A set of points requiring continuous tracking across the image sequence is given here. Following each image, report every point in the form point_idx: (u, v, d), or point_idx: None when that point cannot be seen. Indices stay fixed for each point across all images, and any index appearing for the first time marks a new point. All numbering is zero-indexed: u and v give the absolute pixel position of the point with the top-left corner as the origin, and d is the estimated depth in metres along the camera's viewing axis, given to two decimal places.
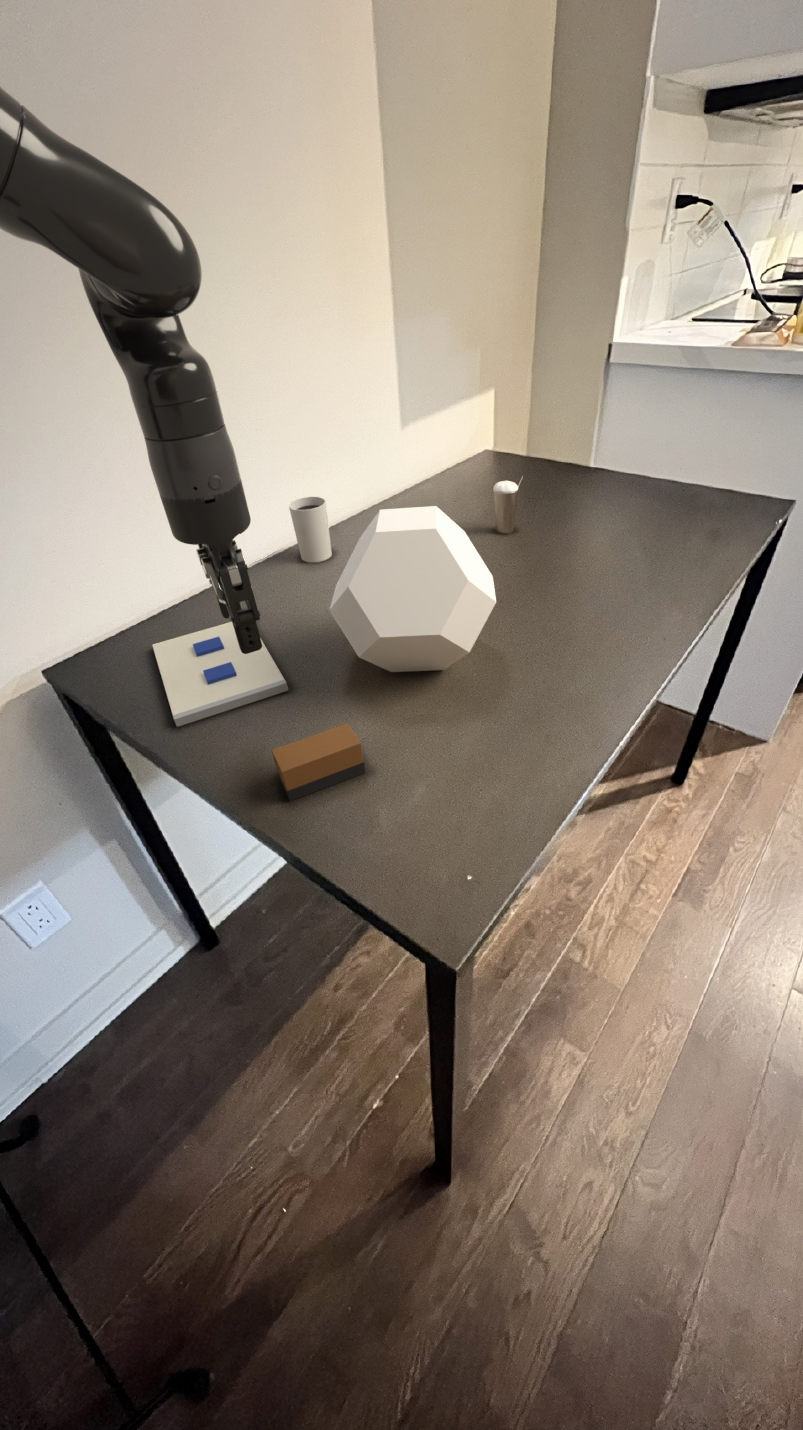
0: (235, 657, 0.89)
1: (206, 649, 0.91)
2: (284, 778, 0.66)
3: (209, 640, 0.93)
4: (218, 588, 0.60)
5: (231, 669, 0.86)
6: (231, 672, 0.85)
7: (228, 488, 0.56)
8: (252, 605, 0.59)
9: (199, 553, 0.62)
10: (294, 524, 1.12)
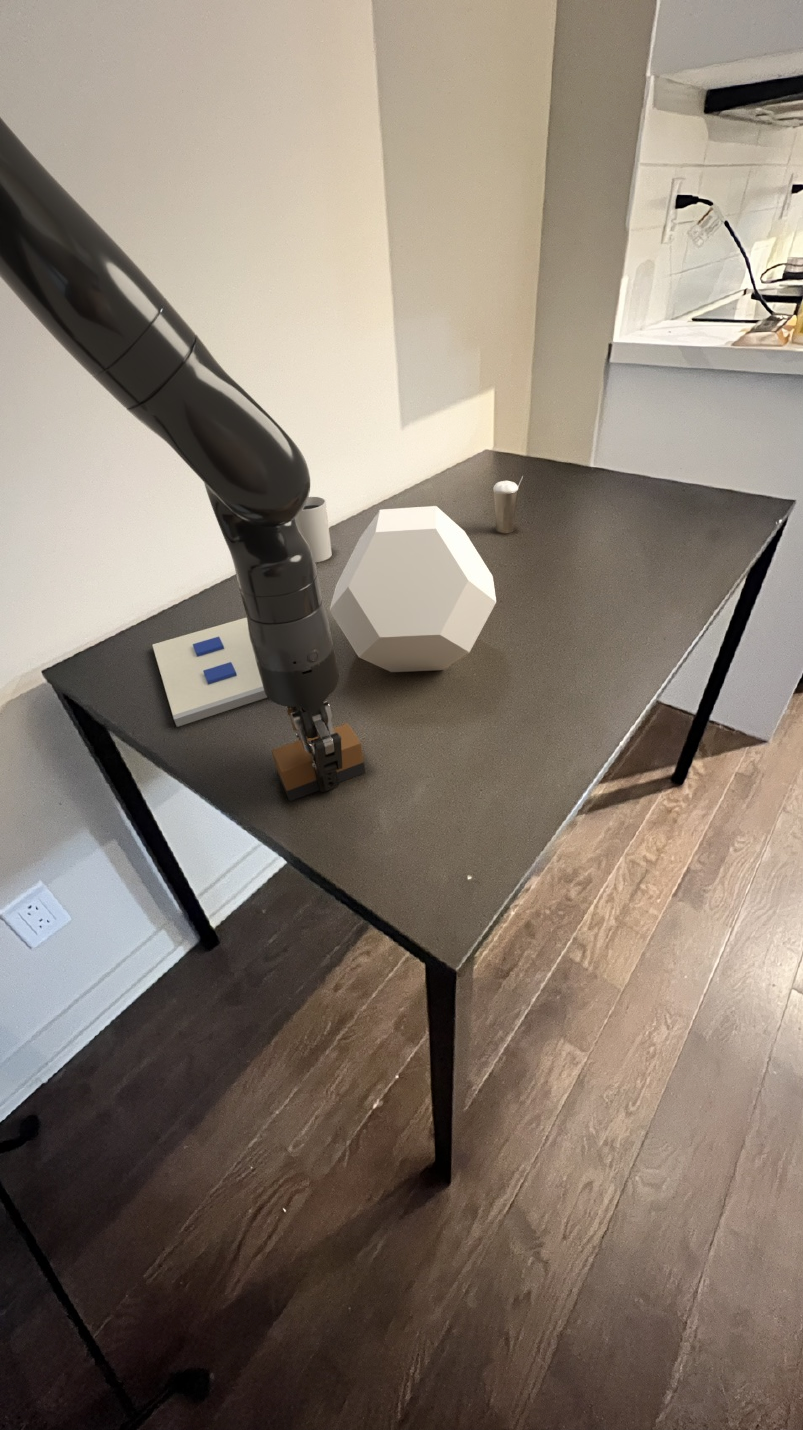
0: (235, 657, 0.89)
1: (206, 649, 0.91)
2: (284, 778, 0.66)
3: (209, 640, 0.93)
4: (306, 742, 0.63)
5: (231, 669, 0.86)
6: (231, 672, 0.85)
7: (324, 658, 0.58)
8: (338, 762, 0.63)
9: None
10: None
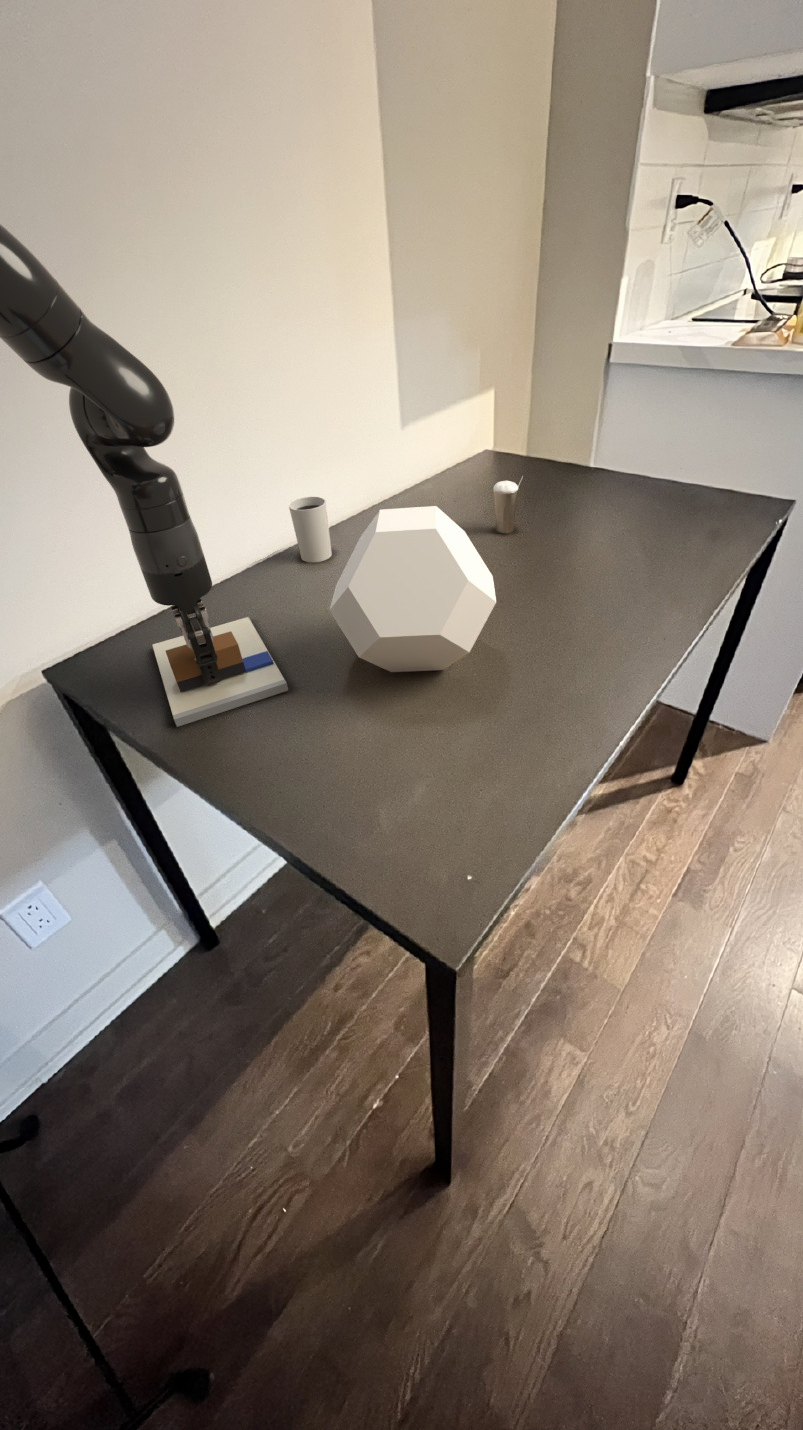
0: None
1: None
2: (173, 670, 0.81)
3: None
4: (187, 639, 0.79)
5: (268, 658, 0.87)
6: (268, 660, 0.87)
7: (192, 564, 0.73)
8: (212, 654, 0.78)
9: (172, 607, 0.79)
10: (294, 524, 1.12)
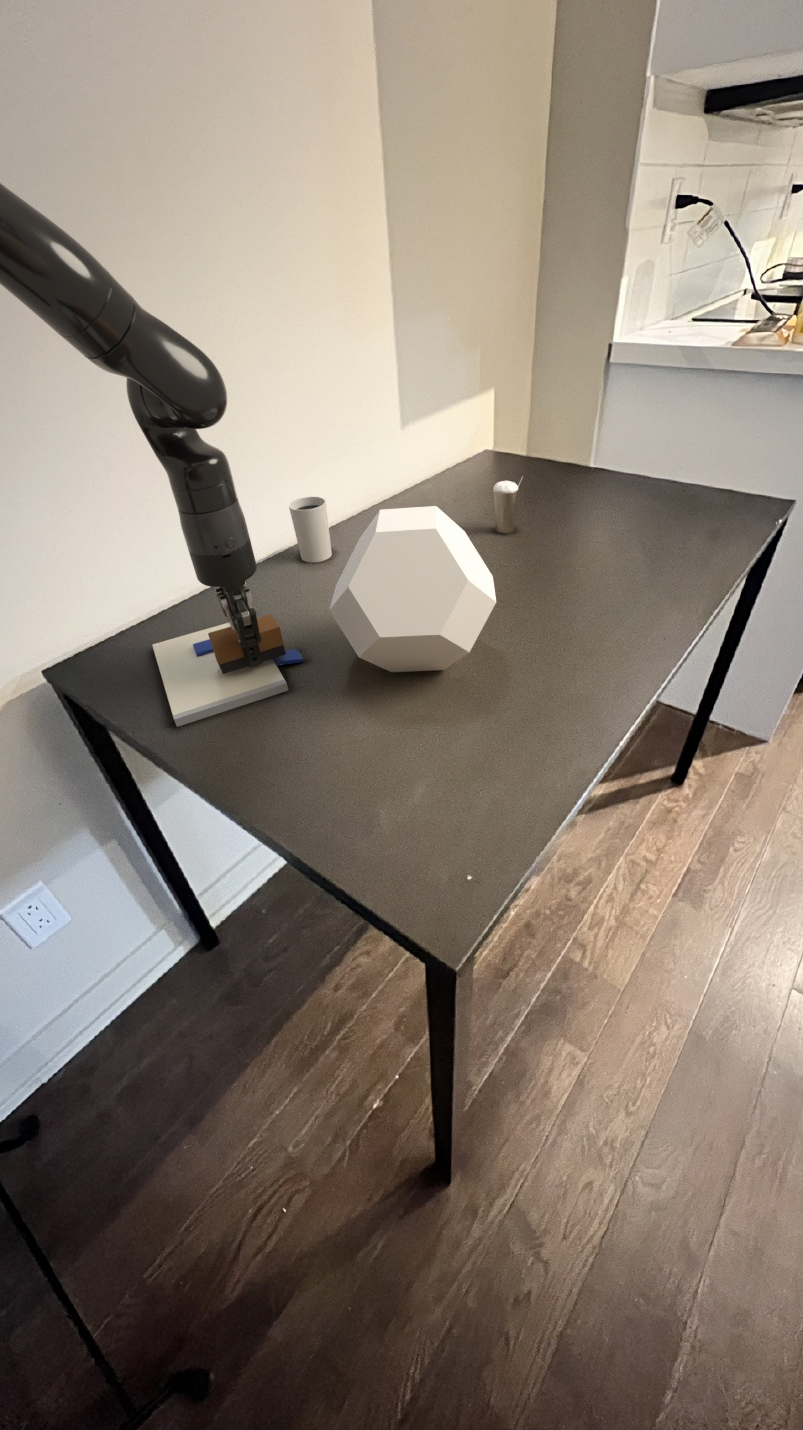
0: None
1: (206, 649, 0.91)
2: (216, 652, 0.82)
3: (209, 640, 0.93)
4: (231, 620, 0.80)
5: (298, 655, 0.89)
6: (298, 657, 0.89)
7: (240, 546, 0.74)
8: (257, 635, 0.79)
9: (216, 590, 0.80)
10: (294, 524, 1.12)
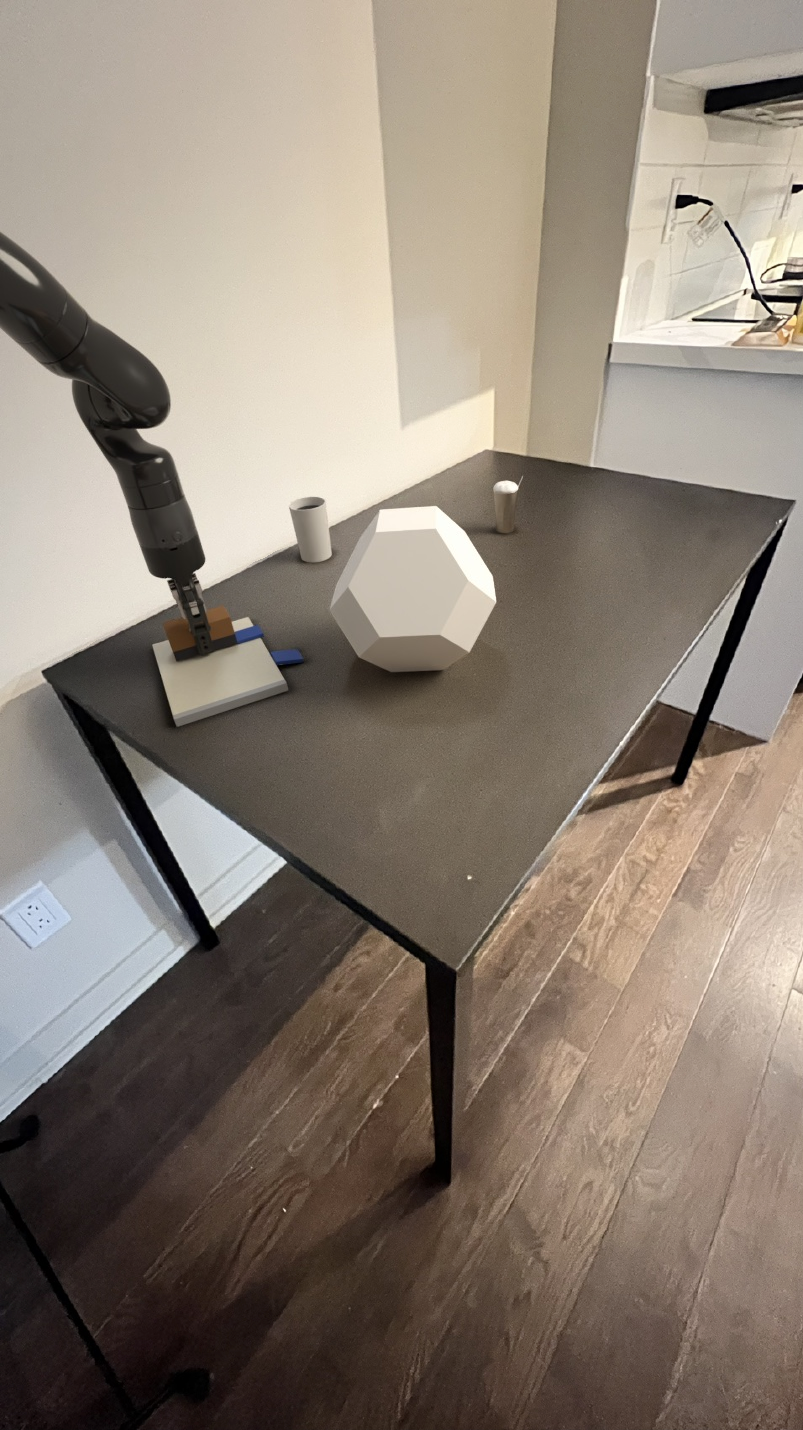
0: (235, 657, 0.89)
1: (246, 637, 0.92)
2: (169, 640, 0.87)
3: (248, 628, 0.94)
4: (182, 610, 0.85)
5: (298, 655, 0.89)
6: (298, 657, 0.89)
7: (187, 539, 0.79)
8: (206, 624, 0.84)
9: (168, 581, 0.85)
10: (294, 524, 1.12)
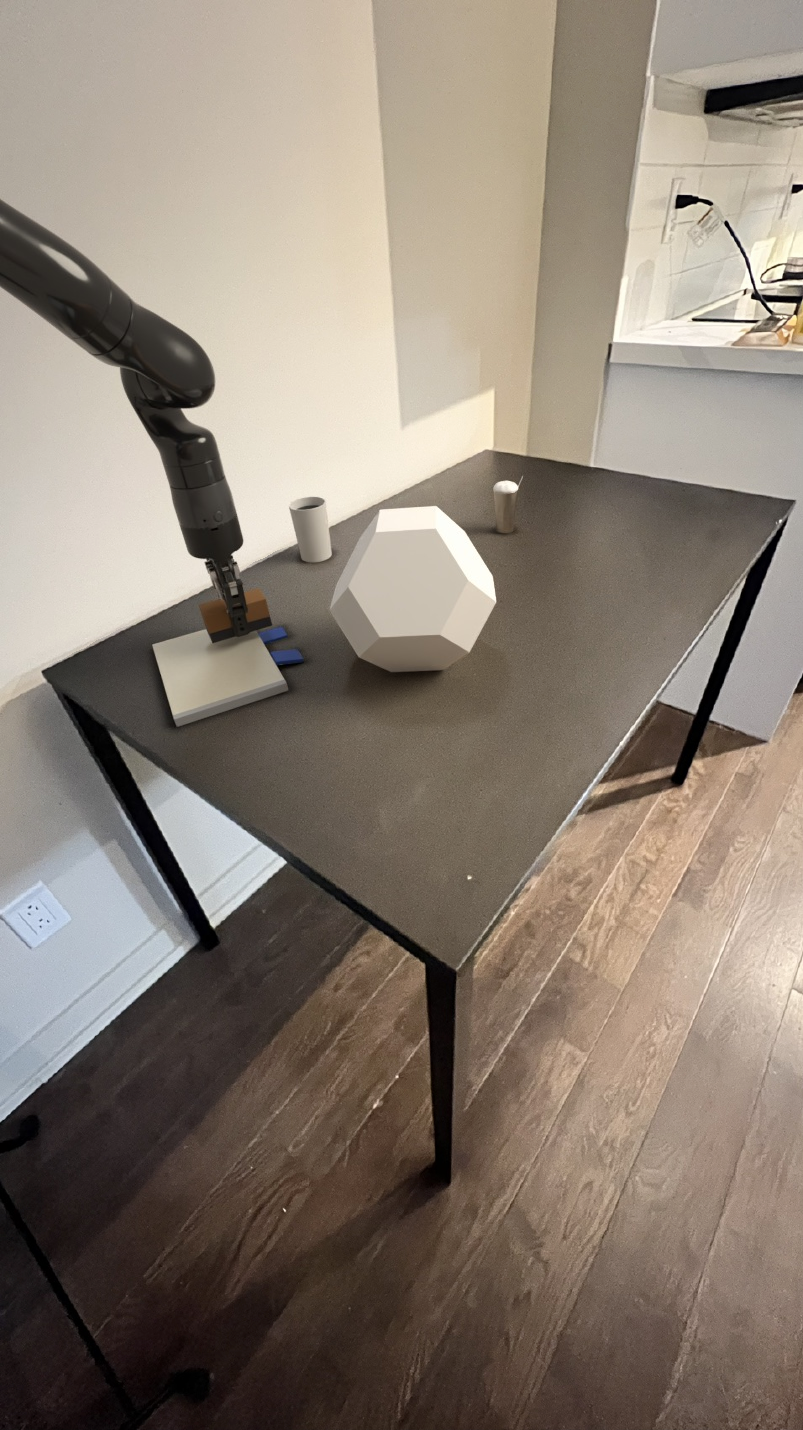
0: (235, 657, 0.89)
1: (271, 638, 0.94)
2: (206, 622, 0.88)
3: (273, 630, 0.96)
4: (220, 591, 0.85)
5: (298, 655, 0.89)
6: (298, 657, 0.89)
7: (227, 520, 0.80)
8: (243, 605, 0.85)
9: (206, 563, 0.86)
10: (294, 524, 1.12)
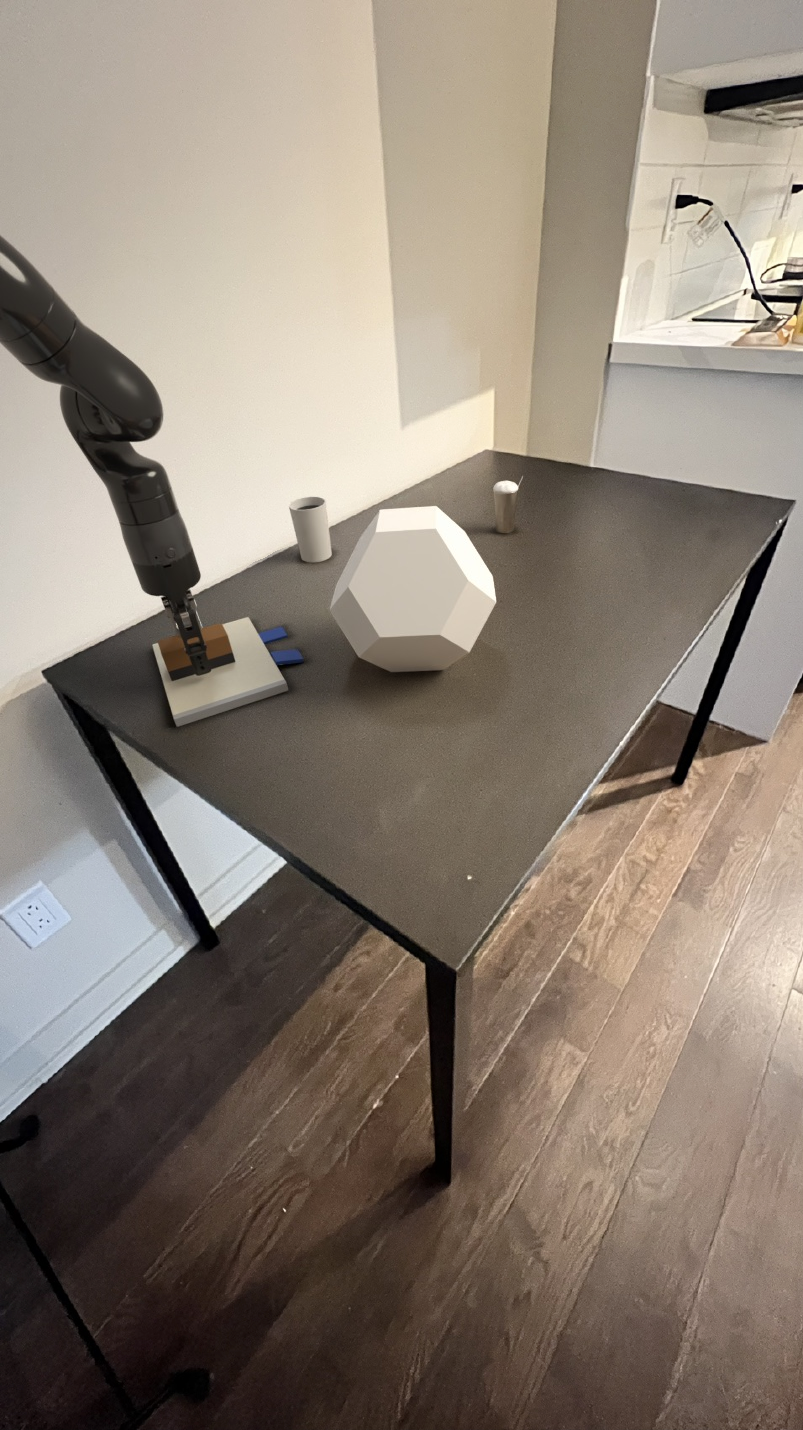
0: (235, 657, 0.89)
1: (271, 638, 0.94)
2: (164, 660, 0.84)
3: (273, 630, 0.96)
4: (176, 627, 0.80)
5: (298, 655, 0.89)
6: (298, 657, 0.89)
7: (181, 556, 0.76)
8: (200, 641, 0.79)
9: (162, 600, 0.82)
10: (294, 524, 1.12)
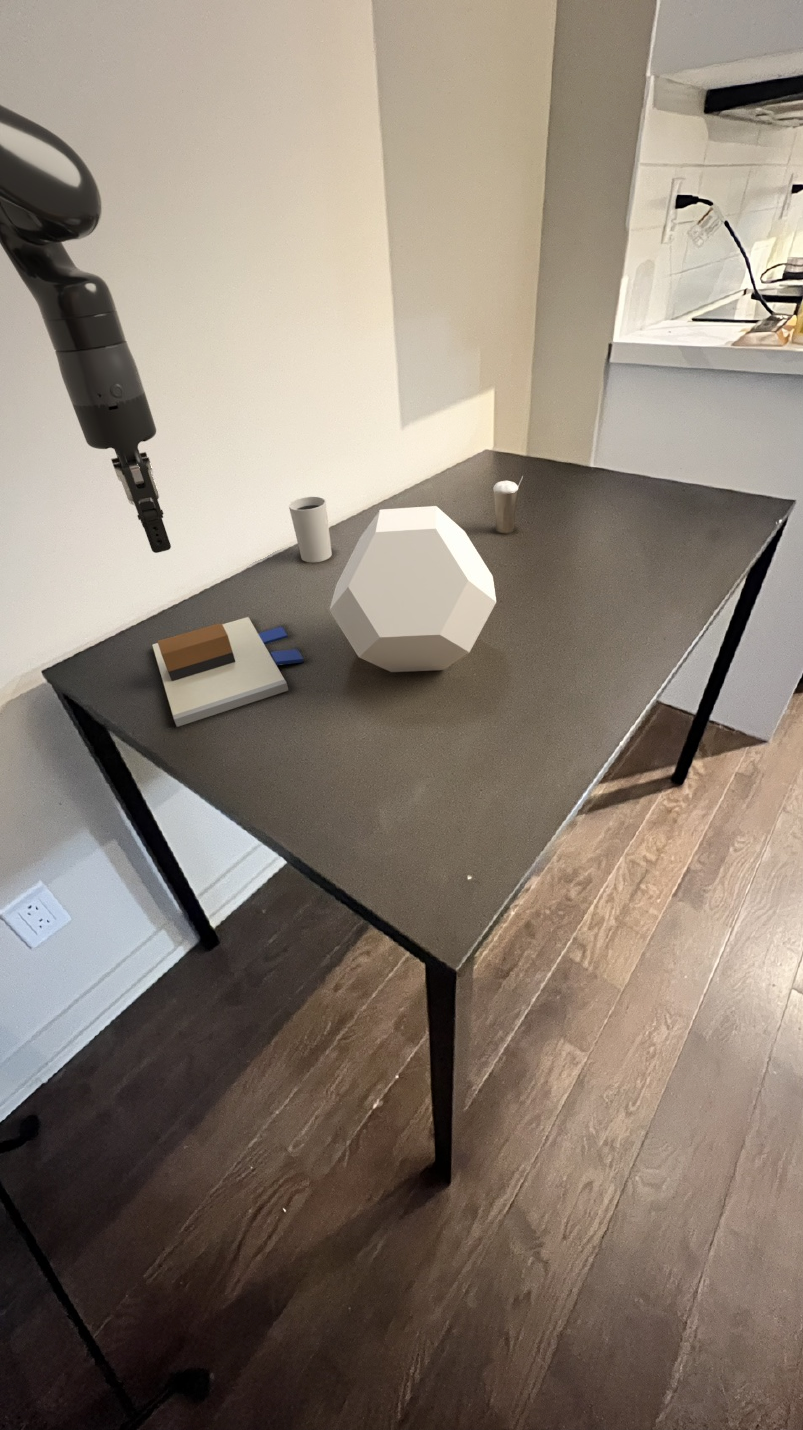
0: (235, 657, 0.89)
1: (271, 638, 0.94)
2: (164, 660, 0.84)
3: (273, 630, 0.96)
4: (127, 490, 0.69)
5: (298, 655, 0.89)
6: (298, 657, 0.89)
7: (130, 397, 0.65)
8: (155, 503, 0.68)
9: (113, 461, 0.71)
10: (294, 524, 1.12)
